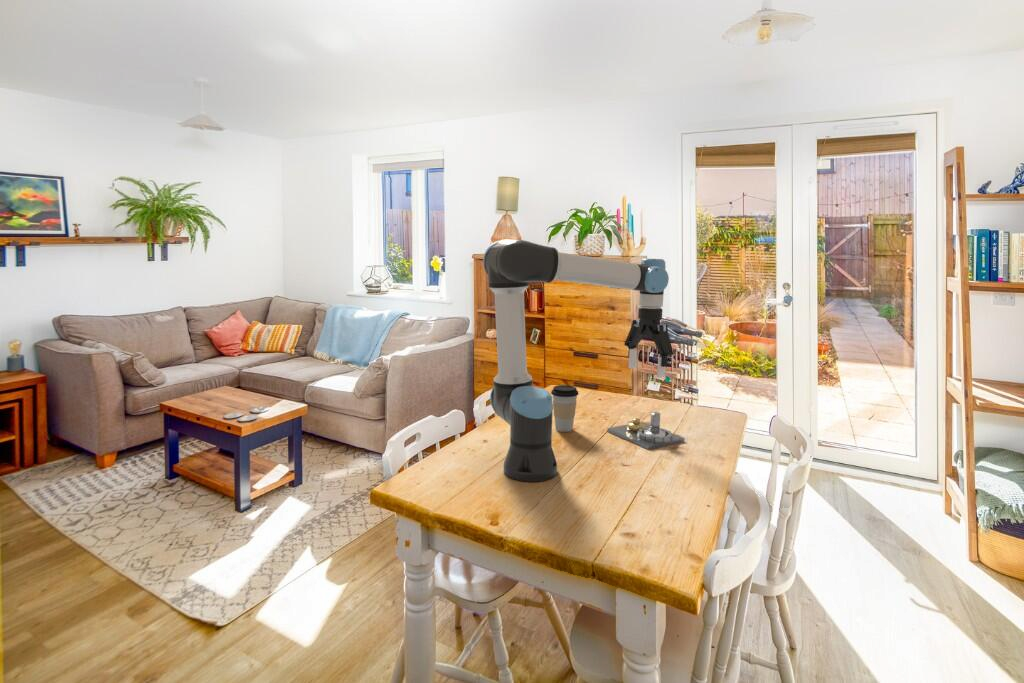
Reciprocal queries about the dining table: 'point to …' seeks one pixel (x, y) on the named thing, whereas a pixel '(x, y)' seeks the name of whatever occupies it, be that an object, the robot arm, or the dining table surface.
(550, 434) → the robot arm
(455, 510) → the dining table surface
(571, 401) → the coffee cup
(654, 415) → the silver round-based piece
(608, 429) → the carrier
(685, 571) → the dining table surface
